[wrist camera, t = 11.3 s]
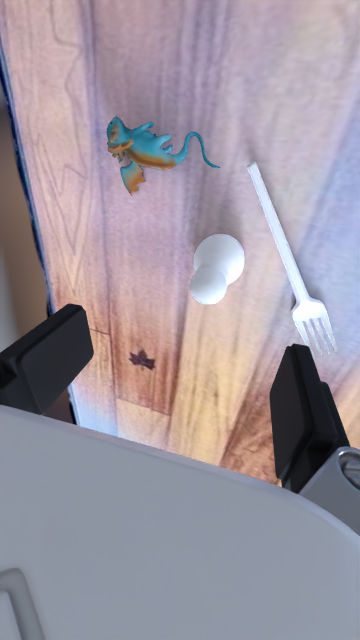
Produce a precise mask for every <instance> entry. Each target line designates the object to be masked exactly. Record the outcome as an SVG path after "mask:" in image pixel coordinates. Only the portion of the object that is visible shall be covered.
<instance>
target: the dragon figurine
mask: <svg viewBox="0 0 360 640" xmlns="http://www.w3.org/2000/svg"><path fill="white" fill-rule="evenodd" d="M154 123H155V122H149V123H146V124H143V125H141V126H139V127H137V128H135V129H133V130H130V129H128V128H126V127H125V125H124V124H123V122H122V120H121V119H120V118H119V117H115V118H113V119H112V121H111V122H110V123H109V125H108V128H107V137H108V142H107V145H108V151H109V152H110V153H113V155H112V156H113V157H114V158H116V156H117V155H119V156H118V159H119V163H120V162H121V160H122V158H123V156H122V155H125V153H126V154H127V155H128V158H129V159H131V160H132V161H131V163H130V165H128V166H126V167H121V169H120V170H121V175H122V179H123V182H124V184H125V186H126V188H127V190H128V191H129V193H130V194H131V196H132V193H133V192H135V191H137V190H139V189H138V188H137V184H138V183H140V182H145V181H146V180H144V179H143V178H142V172H143V170H142V169H141V168H140V167H139V165H141V166H143V167H149V168H153V169H161V170H166V169H169V168H172V167H175V166H176V165H177V164H179V163H181V162H182V161H183V159H184V158H185V156H186V154H187V151H188V142H189V138H190V137H191V136H196V137H198V139H199V141H200V144H201V148H202V154H203V158H204V160H205V162H206V163H207V164H208V165H210V166H211V167H215V168H220V167H219V166H216V165H213V164H212V163H210V162H209V161H208V159H207V158H206V156H205V151H204V146H203V141H202V138H201V136H200V135H199V134H198V133H196V132H191V133H189V134H188V135H187V136H186V138H185V142H184V146H183V148H182V150H181V152H180V153H178V154H176V155H170V154H168V153H167V152H170V151H171V150H172V145H169V146H168V147H166V148H162V149H161V145H162V144H163V143H164V142H165V141H168V140H170V137H171V134H167V135H162V136H159V137H157V136H155V135H156V134H152V133H151V132H149V131H146V130H147V129H148V128H151V127H153V125H154Z"/></svg>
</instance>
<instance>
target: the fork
mask: <svg viewBox="0 0 360 640" xmlns="http://www.w3.org/2000/svg"><path fill="white" fill-rule="evenodd" d="M247 168H248V171H249V174H250V176H251V179H252V182H253V184H254V187H255V190H256V192H257V195H258V198H259V200H260V203H261V206H262V208H263V211H264V214H265V216H266V219H267V222H268V224H269V227H270V230H271V232H272V235H273V238H274V240H275V243H276V246H277V248H278V251H279V254H280V256H281V259H282V262H283V264H284V267H285V270H286V272H287V275H288V278H289V280H290V283H291V286H292V288H293V291H294V294H295V296H296V300H297V301H296V304H295V306H294V307H293V309H292V311H291V315H292V318H293V321H294V323H295V325H296V327H297V329H298V331H299V333H300V335H301V337H302V339H303V341H304V343H305V345H306V346H309V348H310V351H311V354H312V357H313V358H315V356H314V354H313V351H312V348H311V345H310V342H309V340H308V337H307V334H306V331H305V328H304V325H303V322H304V321H305V322H306V324H307V327H308V329H309V331H310V334H311V336H312V338H313V340H314V342H315V345H316V347H317V349H318V352H319V354H320V356H321V357H322V356H323V354H322V351H321V348H320V346H319V343H318V340H317V338H316V335H315V333H314V330H313V328H312V325H311V323H310V319H312V320H313V321H314V324H315V326H316V329H317V331H318V333H319V335H320V337H321V340H322V342H323V344H324V347H325V349H326V351H327V353H328V355H330V351H329V348H328V345H327V343H326V340H325V337H324V335H323V332H322V329H321V327H320V325H319V322H318V320H317V317H320V319H321V321H322V323H323V326H324V328H325V330H326V332H327V335H328V337H329V339H330V342H331V344H332V346H333V349H334V351H335V353H337V347H336V343H335V339H334V335H333V331H332V328H331V324H330V320H329V317H328V314H327V311H326V308H325V305H324V304H323V303H322V302H321V301H320V300H317V299H313V298H311V297H310V296H309V295H308V293H307V290H306V288H305V285H304V283H303V280H302V278H301V275H300V273H299V270H298V268H297V265H296V263H295V260H294V257H293V255H292V252H291V250H290V247H289V245H288V242H287V240H286V237H285V235H284V232H283V230H282V227H281V225H280V222H279V220H278V217H277V215H276V212H275V210H274V207H273V205H272V202H271V200H270V197H269V194H268V192H267V189H266V187H265V184H264V182H263V179H262V177H261V174H260V172H259V169H258V167H257V164H256V162H255V161H254V162H252V163H250V164H249V165H248V166H247Z"/></svg>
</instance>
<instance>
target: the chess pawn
mask: <svg viewBox="0 0 360 640" xmlns="http://www.w3.org/2000/svg"><path fill="white" fill-rule="evenodd" d="M244 258H245V256H244V250H243V248H242V246H241V244H240V243H239V242H238V241H237V240H236V239H235V238H233V237H232V236H230V235H227V234H214V235H211V236H209V237H207V238H205V239H204V240H203V241H202V242H201V243H200V245H199V246H198V247H197V249H196V251H195V254H194V257H193V265H194V269H195V274H194V276H193V277H192V279H191V283H190V290H191V294H192V295H193V297H194V298H195V299H196V300H197V301H198V302H200V303H202V304H207V305H210V304H214V303H217V302H218V301H220V300H221V299H222V298H223V296H224V295H225V293H226V290H227V285H228V284H230V283H232V282H233V281H235V280H236V279H237V278H238V277H239V275H240V274H241V272H242V270H243V267H244Z"/></svg>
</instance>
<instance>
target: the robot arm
mask: <svg viewBox="0 0 360 640" xmlns="http://www.w3.org/2000/svg"><path fill="white" fill-rule="evenodd" d="M93 354H94V351H93V346H92V341H91V336H90V331H89V326H88V321H87V316H86V311H85V310H84V309H83V307H82V306H80V305H75V304H67V305H66V306H64V307H63V308H62V309H60V310H59V311H57V312H56V313H55V314H53V315H52V316H50V317H49V318H48V319H46V320H45V321H44V322H42V323H41V324H39V325H38V326H37V327H35V328H34V329H33V330H31V331H30V332H28V333H27V334H26V335H25V336H23V337H21V338H20V339H19V340H17V341H16V342H14V343H13V344H12V345H10V346H9V347H8V348H6V349H5V350H3V351H2V352H1V353H0V640H360V450H359V449H356V448H353V447H350V444H349V441H348V438H347V436H346V433H345V430H344V427H343V425H342V422H341V419H340V416H339V413H338V411H337V408H336V405H335V402H334V400H333V397H332V394H331V391H330V388H329V386H328V384H327V383H326V382H322V381H320V378H319V375H318V372H317V369H316V366H315V363H314V360H313V357H312V354H311V351H310V348H309V346H305V345H299V344H293V345H292V346H287V347H286V350H285V353H284V355H283V358H282V361H281V363H280V366H279V369H278V371H277V374H276V377H275V380H274V382H273V385H272V388H271V391H270V409H271V421H272V433H273V446H274V458H275V471H276V477H277V478H279V479H281V483H282V487H280V486H277V485H274V484H271V483H268V482H266V481H263V480H260V479H257V478H254V477H251V476H248V475H245V474H241V473H238V472H235V471H232V470H228V469H225V468H222V467H219V466H215V465H212V464H209V463H205V462H202V461H199V460H195V459H192V458H188V457H185V456H181V455H178V454H174V453H171V452H168V451H164V450H161V449H157V448H154V447H150V446H147V445H143V444H140V443H136V442H133V441H129V440H126V439H122V438H119V437H115V436H112V435H108V434H105V433H101V432H98V431H94V430H91V429H87V428H84V427H80V426H77V425H73V424H70V423H66V422H63V421H59V420H55V419H52V418H48V417H45V416H41V414H42V413H43V412H46V411H47V410H48V409H49V408H50V407H51V405H52V404H53V403H54V402H55V401H56V400H57V399H58V397H59V396H60V395H61V394H62V393H63V392H64V390H65V389H66V388H67V387H68V386H69V384H70V383H71V382H72V381H73V380H74V379H75V377H76V376H77V375H78V374H79V373H80V372H81V370H82V369H83V368H84V367H85V366H86V365H87V363H88V362H89V361H90V360H91V359H92V357H93Z"/></svg>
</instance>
